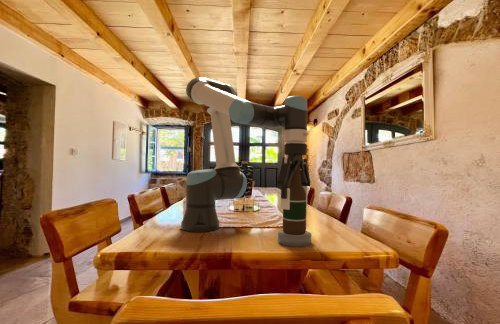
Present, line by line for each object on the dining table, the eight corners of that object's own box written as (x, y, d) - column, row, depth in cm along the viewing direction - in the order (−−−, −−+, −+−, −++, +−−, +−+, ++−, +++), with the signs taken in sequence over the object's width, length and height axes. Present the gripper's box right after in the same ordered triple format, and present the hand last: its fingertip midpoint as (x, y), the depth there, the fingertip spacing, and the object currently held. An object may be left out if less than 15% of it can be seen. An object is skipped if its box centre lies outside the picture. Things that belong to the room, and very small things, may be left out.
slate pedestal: (271, 242, 90) (271, 233, 90) (287, 236, 99) (287, 227, 99) (302, 249, 83) (302, 238, 83) (316, 241, 92) (316, 231, 92)
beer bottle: (308, 235, 87) (309, 160, 88) (283, 235, 87) (284, 160, 88) (304, 229, 95) (304, 161, 95) (281, 229, 95) (282, 160, 95)
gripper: (288, 139, 79) (287, 212, 79) (320, 145, 100) (319, 203, 99) (266, 140, 84) (265, 210, 83) (301, 146, 104) (300, 202, 104)
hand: (294, 206), depth 91 cm, fingers open, 13 cm apart
